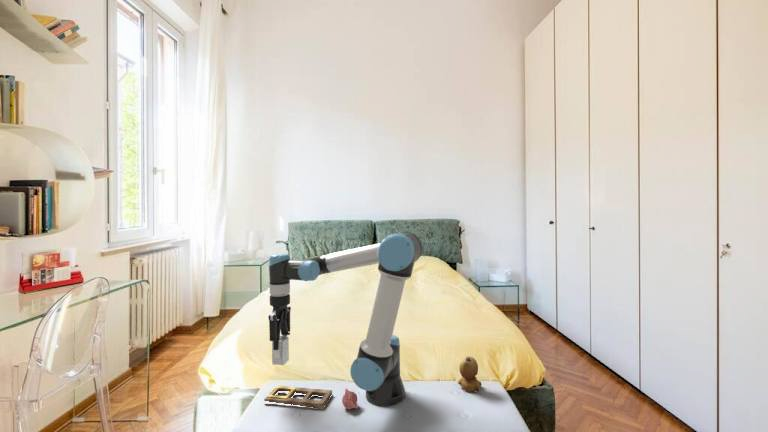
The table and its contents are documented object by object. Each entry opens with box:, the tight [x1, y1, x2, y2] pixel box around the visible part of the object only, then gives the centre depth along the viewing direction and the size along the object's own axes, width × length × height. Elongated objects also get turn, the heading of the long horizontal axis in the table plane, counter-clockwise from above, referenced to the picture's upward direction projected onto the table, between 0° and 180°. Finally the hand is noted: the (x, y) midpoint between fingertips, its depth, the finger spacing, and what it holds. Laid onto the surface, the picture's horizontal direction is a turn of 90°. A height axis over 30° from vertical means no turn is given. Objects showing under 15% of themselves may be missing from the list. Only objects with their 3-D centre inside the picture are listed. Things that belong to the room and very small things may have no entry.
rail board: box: [263, 385, 333, 410], centre depth 133 cm, size 23×10×2 cm, turn 79°
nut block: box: [271, 336, 290, 366], centre depth 135 cm, size 4×4×9 cm
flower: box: [341, 388, 359, 410], centre depth 127 cm, size 8×8×6 cm
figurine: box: [457, 356, 482, 393], centre depth 138 cm, size 10×8×15 cm
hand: (280, 354), depth 135 cm, fingers closed on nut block, 4 cm apart
